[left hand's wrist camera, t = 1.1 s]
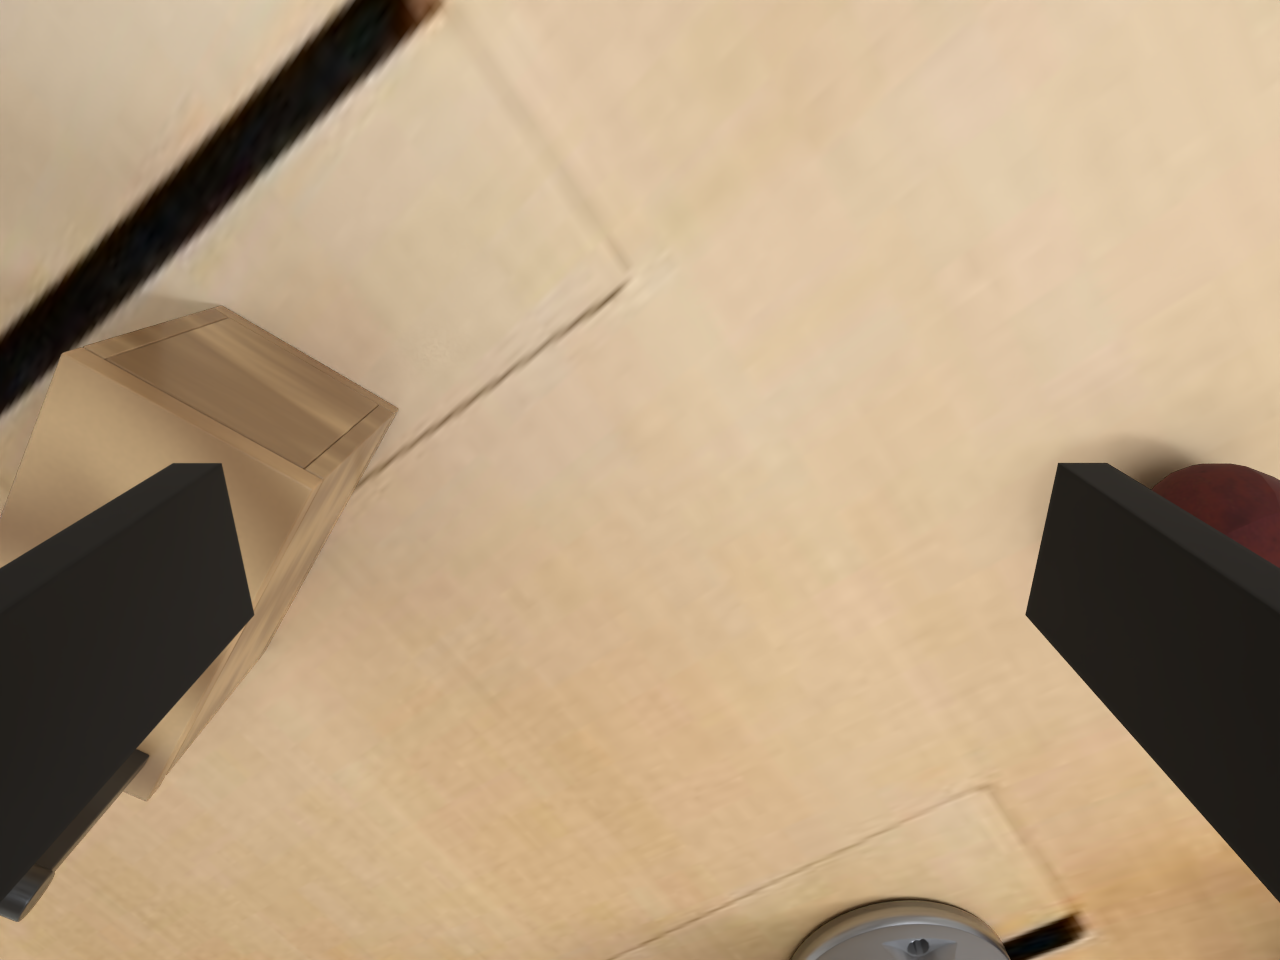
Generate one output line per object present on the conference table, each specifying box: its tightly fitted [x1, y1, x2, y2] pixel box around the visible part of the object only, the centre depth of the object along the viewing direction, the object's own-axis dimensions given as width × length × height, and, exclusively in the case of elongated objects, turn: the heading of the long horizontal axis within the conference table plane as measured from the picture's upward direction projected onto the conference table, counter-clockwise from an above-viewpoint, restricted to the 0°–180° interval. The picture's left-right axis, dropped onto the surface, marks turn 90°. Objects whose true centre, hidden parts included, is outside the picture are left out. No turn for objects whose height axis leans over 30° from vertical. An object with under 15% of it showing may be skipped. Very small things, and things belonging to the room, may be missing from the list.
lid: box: [0, 348, 322, 922], centre depth 26 cm, size 17×9×8 cm, turn 147°
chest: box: [83, 306, 398, 775], centre depth 35 cm, size 17×9×10 cm, turn 147°
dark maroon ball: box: [1152, 464, 1280, 568], centre depth 36 cm, size 7×8×7 cm
